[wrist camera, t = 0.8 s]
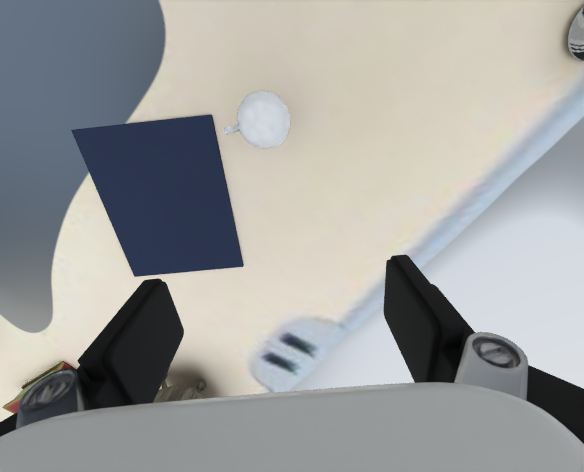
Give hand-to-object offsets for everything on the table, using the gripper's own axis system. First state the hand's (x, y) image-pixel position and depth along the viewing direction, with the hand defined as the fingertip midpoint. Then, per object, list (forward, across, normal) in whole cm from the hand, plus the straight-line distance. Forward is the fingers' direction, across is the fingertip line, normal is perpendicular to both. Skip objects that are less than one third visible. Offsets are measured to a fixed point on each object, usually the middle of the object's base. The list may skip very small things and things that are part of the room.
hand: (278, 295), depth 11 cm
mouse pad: (+24, +15, +3) cm, 29 cm away
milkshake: (+24, +1, -6) cm, 25 cm away
